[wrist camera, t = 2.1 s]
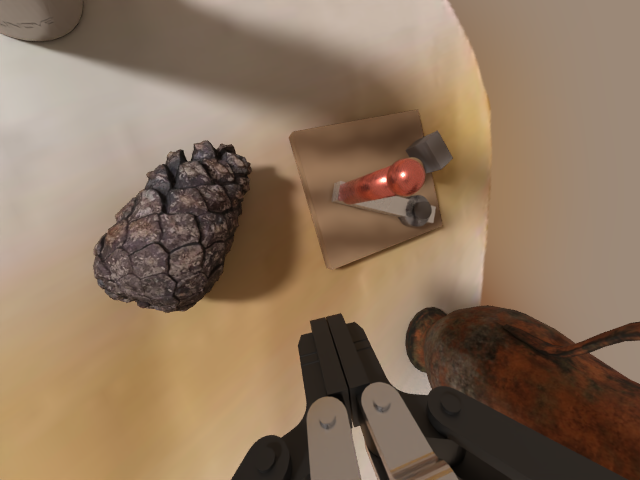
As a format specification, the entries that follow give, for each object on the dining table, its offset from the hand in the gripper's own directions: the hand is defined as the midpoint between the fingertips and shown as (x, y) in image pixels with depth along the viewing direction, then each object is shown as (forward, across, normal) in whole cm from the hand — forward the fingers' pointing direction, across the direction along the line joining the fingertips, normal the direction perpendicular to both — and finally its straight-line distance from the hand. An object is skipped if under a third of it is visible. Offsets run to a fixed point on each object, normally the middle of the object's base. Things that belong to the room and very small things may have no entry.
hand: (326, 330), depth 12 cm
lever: (+23, -13, +3) cm, 27 cm away
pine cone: (+21, +12, 0) cm, 24 cm away
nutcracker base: (+26, -12, +1) cm, 29 cm away
